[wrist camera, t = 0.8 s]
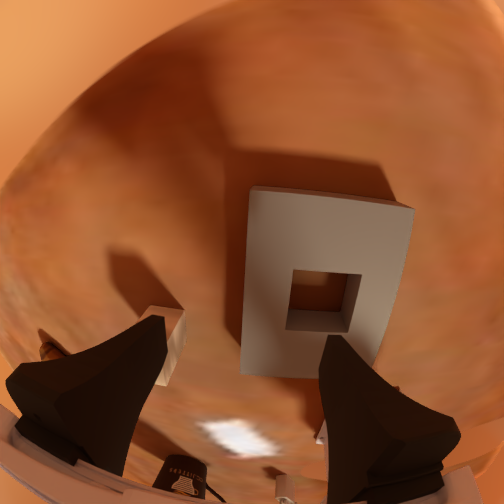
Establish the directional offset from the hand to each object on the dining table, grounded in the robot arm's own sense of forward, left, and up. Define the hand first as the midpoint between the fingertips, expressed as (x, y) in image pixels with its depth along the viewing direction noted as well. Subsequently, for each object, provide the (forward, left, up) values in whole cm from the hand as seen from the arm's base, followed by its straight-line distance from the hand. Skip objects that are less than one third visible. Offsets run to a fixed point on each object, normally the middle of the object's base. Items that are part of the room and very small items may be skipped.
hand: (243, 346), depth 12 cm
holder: (-1, -5, -10) cm, 11 cm away
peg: (-6, +7, -10) cm, 14 cm away
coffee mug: (-35, +7, -10) cm, 37 cm away
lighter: (-37, -8, -10) cm, 39 cm away
